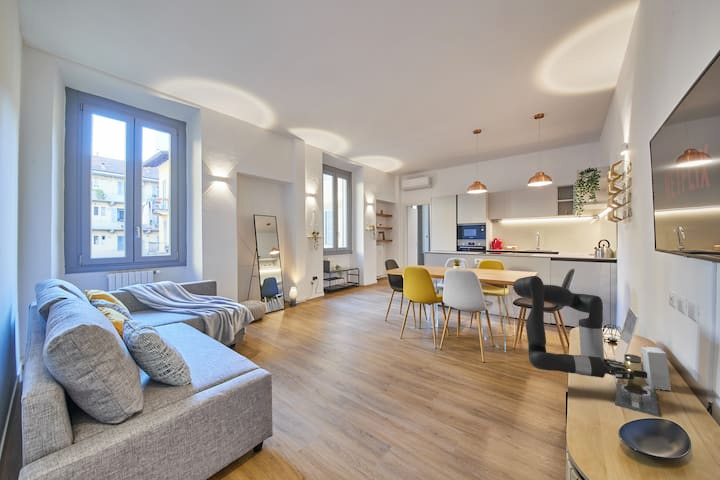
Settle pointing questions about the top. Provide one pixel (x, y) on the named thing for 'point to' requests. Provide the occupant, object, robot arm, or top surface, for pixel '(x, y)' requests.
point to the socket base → (637, 399)
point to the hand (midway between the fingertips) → (643, 372)
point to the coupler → (634, 364)
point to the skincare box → (656, 368)
